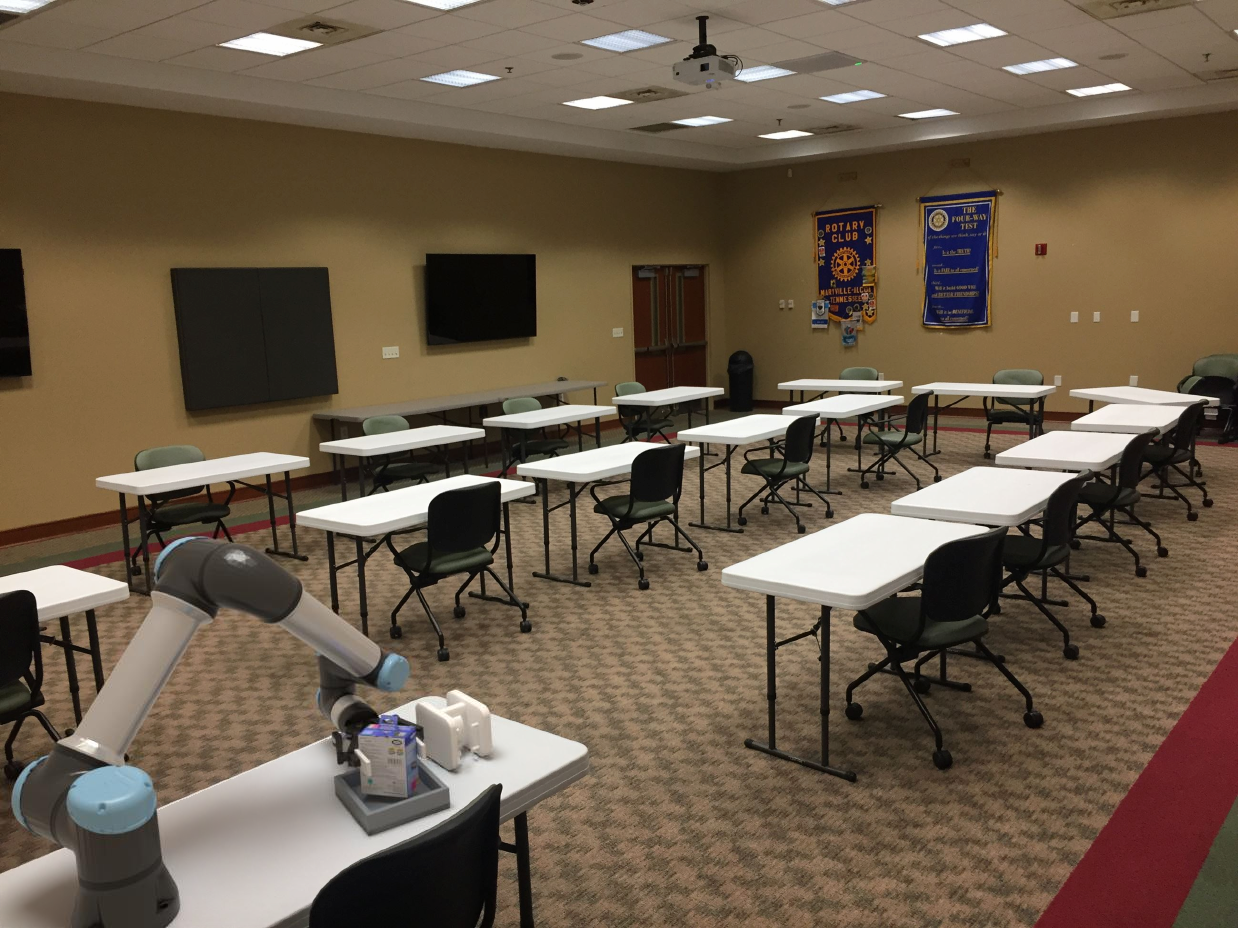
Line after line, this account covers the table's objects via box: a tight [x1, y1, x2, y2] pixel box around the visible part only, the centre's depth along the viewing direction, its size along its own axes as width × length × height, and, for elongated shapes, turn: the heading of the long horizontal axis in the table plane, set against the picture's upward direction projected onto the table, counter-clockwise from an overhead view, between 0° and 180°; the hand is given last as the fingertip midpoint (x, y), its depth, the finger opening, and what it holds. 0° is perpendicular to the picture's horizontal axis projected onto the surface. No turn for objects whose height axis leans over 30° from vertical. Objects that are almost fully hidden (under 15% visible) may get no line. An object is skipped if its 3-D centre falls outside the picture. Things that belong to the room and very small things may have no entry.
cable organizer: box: [415, 689, 493, 771], centre depth 199 cm, size 15×11×12 cm
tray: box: [333, 757, 451, 837], centre depth 182 cm, size 16×18×4 cm
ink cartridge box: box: [358, 714, 419, 798], centre depth 180 cm, size 10×6×14 cm, turn 78°
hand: (397, 760), depth 177 cm, fingers closed on ink cartridge box, 10 cm apart
